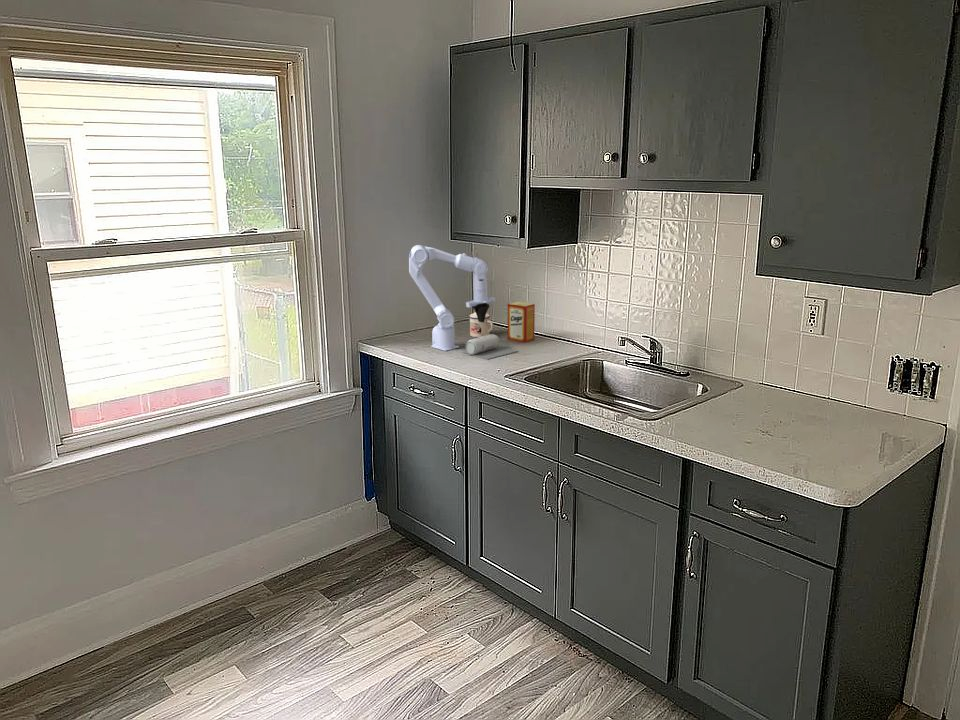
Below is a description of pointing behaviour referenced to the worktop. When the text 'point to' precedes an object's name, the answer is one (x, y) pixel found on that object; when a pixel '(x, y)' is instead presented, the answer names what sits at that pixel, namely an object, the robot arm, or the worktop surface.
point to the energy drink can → (482, 344)
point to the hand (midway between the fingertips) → (481, 321)
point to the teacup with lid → (480, 326)
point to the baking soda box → (521, 321)
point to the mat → (493, 353)
